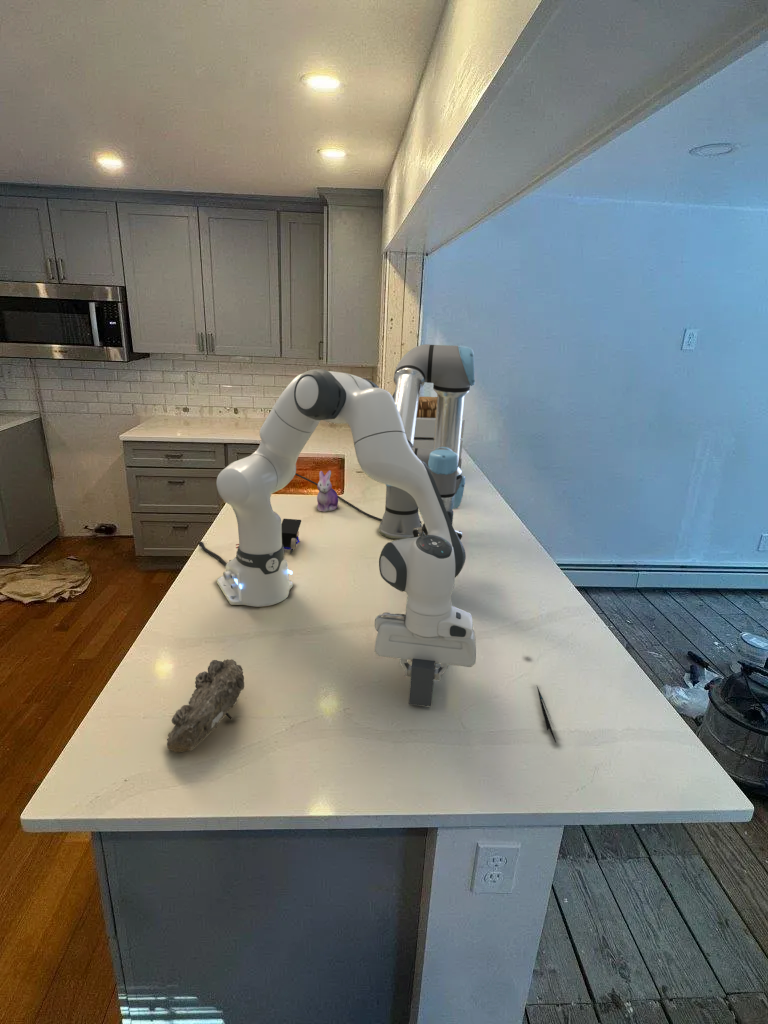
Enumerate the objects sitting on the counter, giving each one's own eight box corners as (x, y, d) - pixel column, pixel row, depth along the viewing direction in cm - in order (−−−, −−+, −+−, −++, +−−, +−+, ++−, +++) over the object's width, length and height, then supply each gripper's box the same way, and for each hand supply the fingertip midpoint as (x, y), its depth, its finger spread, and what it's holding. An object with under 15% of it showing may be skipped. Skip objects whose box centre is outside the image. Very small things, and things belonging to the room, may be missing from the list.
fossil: (192, 660, 117) (244, 628, 112) (224, 691, 120) (276, 661, 115) (142, 746, 98) (202, 712, 93) (182, 779, 101) (242, 748, 96)
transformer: (382, 463, 289) (386, 382, 275) (445, 464, 293) (451, 384, 279) (390, 482, 257) (394, 392, 243) (460, 483, 261) (468, 394, 247)
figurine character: (297, 560, 179) (302, 537, 192) (296, 539, 175) (302, 517, 189) (275, 559, 178) (282, 536, 192) (274, 538, 175) (281, 516, 189)
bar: (425, 582, 164) (428, 555, 161) (441, 584, 163) (443, 556, 160) (408, 704, 112) (411, 667, 109) (431, 707, 112) (434, 669, 109)
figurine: (320, 513, 215) (320, 475, 210) (311, 505, 224) (311, 468, 219) (343, 510, 219) (344, 473, 214) (333, 502, 228) (333, 466, 223)
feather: (528, 662, 131) (533, 656, 131) (556, 747, 105) (562, 740, 104) (522, 659, 131) (527, 652, 130) (548, 742, 104) (555, 735, 104)
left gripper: (373, 619, 109) (370, 680, 114) (480, 631, 107) (472, 692, 112) (377, 603, 115) (374, 661, 120) (479, 615, 113) (472, 673, 117)
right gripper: (405, 510, 148) (400, 590, 156) (473, 516, 146) (464, 596, 154) (407, 501, 155) (403, 577, 163) (472, 506, 153) (464, 583, 161)
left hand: (422, 676), depth 116 cm, fingers closed on bar, 4 cm apart
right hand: (433, 586), depth 159 cm, fingers open, 5 cm apart
